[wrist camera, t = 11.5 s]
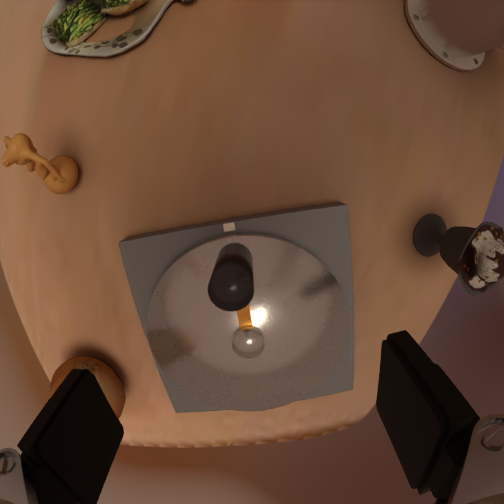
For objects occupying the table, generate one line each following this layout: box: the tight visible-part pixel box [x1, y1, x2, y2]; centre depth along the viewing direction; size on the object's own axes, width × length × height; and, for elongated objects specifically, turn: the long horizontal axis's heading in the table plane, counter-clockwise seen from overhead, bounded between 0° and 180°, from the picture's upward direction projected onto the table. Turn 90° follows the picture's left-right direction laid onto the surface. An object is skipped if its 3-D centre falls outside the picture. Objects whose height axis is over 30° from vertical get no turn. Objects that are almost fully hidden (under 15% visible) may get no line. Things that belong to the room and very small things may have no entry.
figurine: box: [2, 133, 78, 194], centre depth 22 cm, size 8×6×12 cm
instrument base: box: [118, 202, 354, 413], centre depth 31 cm, size 22×22×3 cm
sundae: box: [413, 214, 504, 295], centre depth 23 cm, size 7×7×15 cm
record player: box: [147, 233, 350, 411], centre depth 26 cm, size 20×20×8 cm
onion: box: [50, 357, 125, 419], centre depth 30 cm, size 10×10×10 cm
